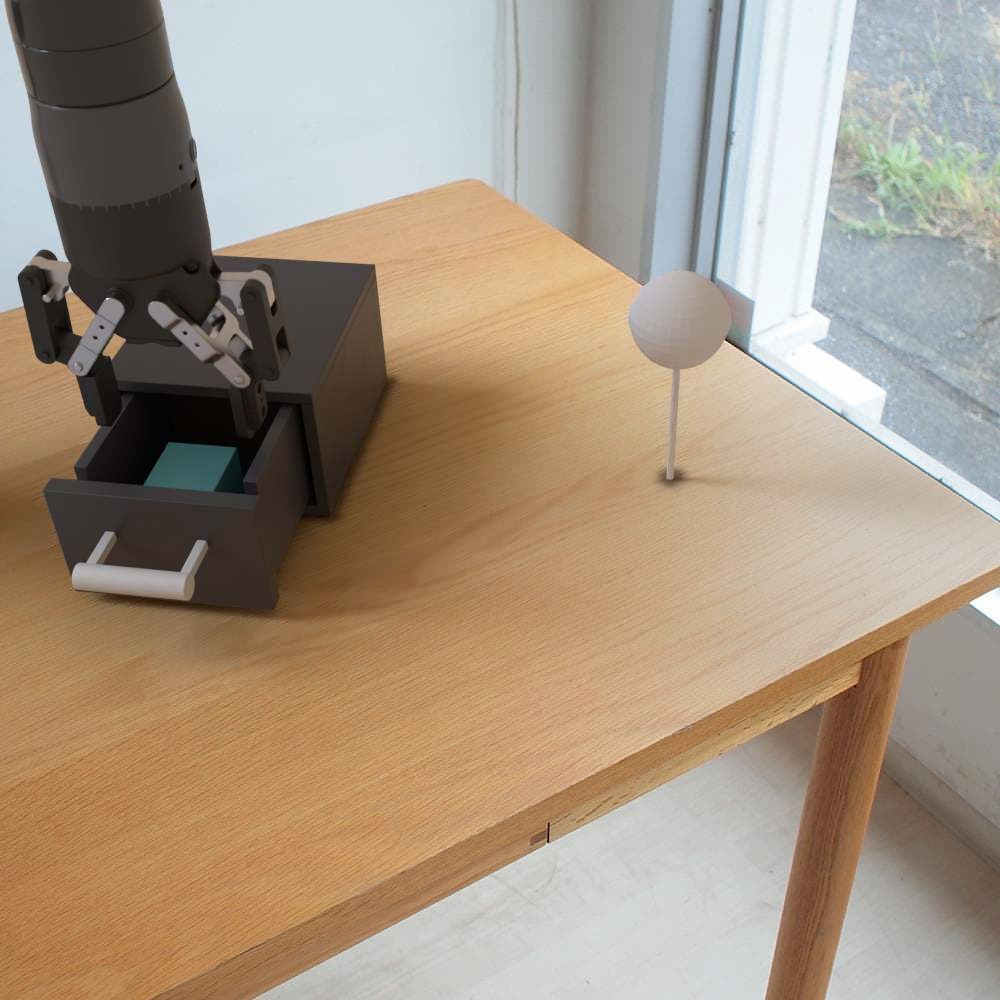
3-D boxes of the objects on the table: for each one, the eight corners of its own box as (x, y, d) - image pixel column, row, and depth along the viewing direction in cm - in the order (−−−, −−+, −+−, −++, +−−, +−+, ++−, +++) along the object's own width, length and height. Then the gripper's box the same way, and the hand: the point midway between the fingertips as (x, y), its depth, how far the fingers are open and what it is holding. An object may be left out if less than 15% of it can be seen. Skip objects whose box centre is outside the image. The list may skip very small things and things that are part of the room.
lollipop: (613, 497, 85) (618, 295, 76) (633, 444, 90) (640, 246, 80) (708, 513, 84) (726, 309, 74) (724, 458, 88) (743, 258, 78)
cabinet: (330, 516, 85) (311, 394, 79) (131, 499, 87) (97, 378, 81) (387, 379, 97) (375, 263, 90) (211, 367, 99) (187, 253, 93)
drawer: (251, 664, 74) (228, 561, 69) (44, 642, 76) (7, 540, 71) (339, 459, 88) (325, 361, 83) (163, 445, 90) (139, 348, 85)
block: (156, 542, 80) (141, 486, 78) (182, 497, 84) (168, 441, 81) (225, 548, 80) (213, 492, 77) (248, 502, 83) (237, 447, 80)
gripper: (-46, 193, 65) (38, 454, 75) (231, 208, 63) (278, 474, 73) (22, 128, 71) (91, 379, 81) (278, 140, 68) (315, 396, 79)
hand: (180, 424), depth 77 cm, fingers open, 8 cm apart
